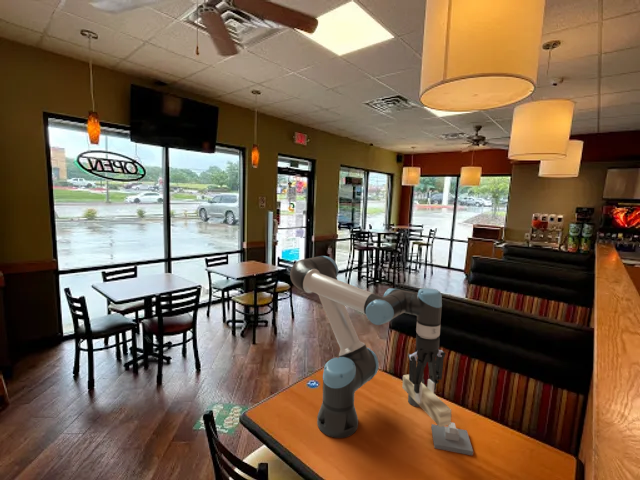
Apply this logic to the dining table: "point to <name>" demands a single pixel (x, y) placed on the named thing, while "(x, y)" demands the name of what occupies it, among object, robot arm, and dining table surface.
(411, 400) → the bottle
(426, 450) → the dining table surface
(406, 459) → the dining table surface
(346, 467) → the dining table surface
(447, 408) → the beam
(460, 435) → the fulcrum
